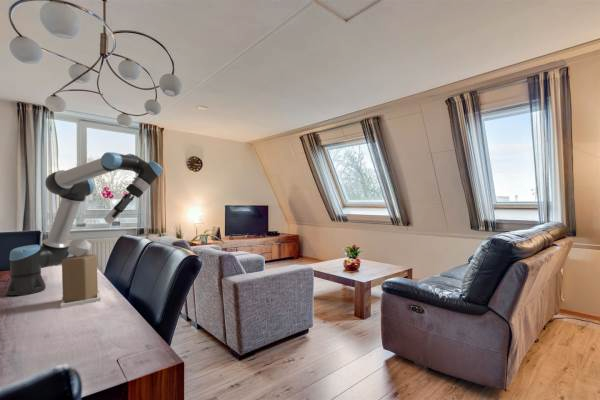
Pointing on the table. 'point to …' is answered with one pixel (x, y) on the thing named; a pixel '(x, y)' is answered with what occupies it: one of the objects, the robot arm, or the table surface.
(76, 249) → the die
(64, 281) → the wooden block
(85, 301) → the base frame
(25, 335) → the table surface
